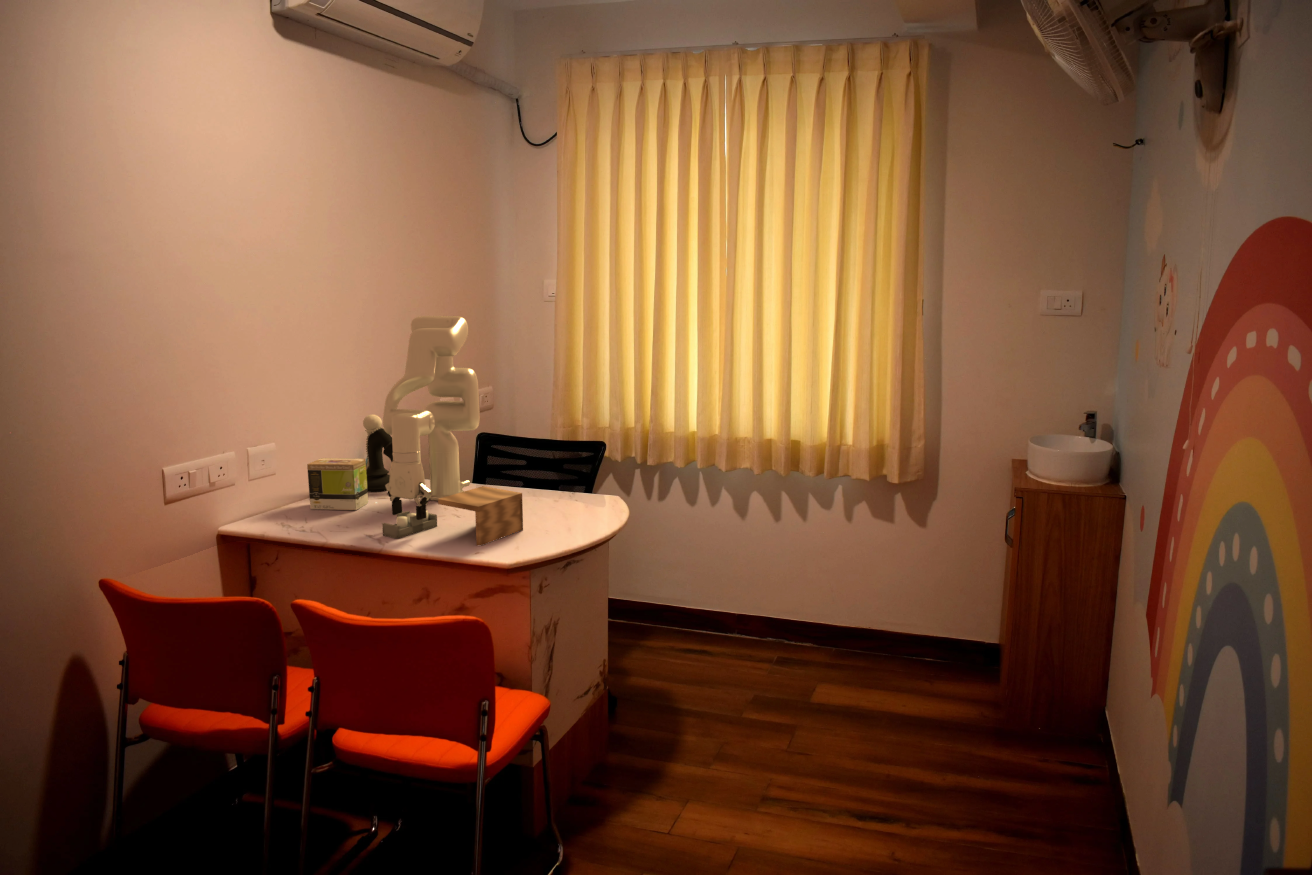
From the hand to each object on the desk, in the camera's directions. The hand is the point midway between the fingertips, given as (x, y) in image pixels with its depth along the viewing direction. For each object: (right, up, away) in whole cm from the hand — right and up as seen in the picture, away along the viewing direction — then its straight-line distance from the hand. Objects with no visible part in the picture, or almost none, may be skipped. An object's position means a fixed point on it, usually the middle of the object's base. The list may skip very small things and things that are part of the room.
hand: (409, 516), depth 260 cm
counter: (+21, -5, -1) cm, 21 cm away
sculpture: (-21, +5, +52) cm, 56 cm away
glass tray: (0, -4, +1) cm, 4 cm away
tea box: (-29, +1, +28) cm, 40 cm away
